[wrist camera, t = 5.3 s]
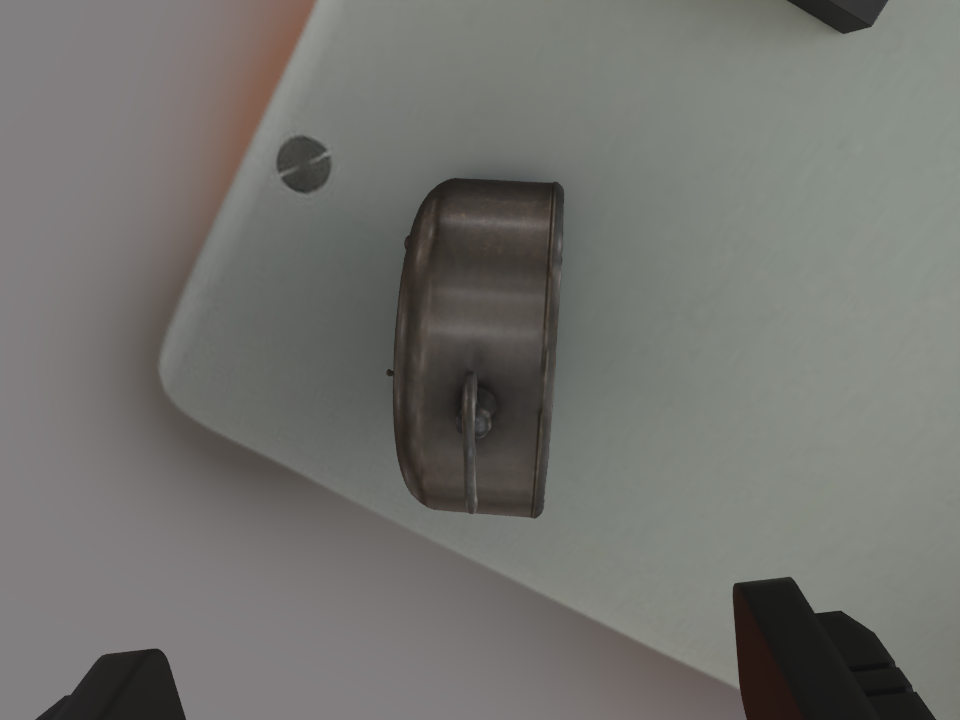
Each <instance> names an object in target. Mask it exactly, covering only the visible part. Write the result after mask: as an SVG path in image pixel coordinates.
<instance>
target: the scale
mask: <svg viewBox="0 0 960 720" xmlns="http://www.w3.org/2000/svg"><path fill="white" fill-rule="evenodd" d="M788 1H790V2H792V3H793V4H795V5H797V6H798V7H800V8H802V9H803V10H805V11H807V12H808V13H810V14H812V15H813V16H815V17H817V18H818V19H820V20H822V21H823V22H825V23H826V24H828V25H830V26H831V27H833V28H835V29H836V30H838V31H840V32H841V33H843V34H845V33H849V32H853V31H857V30H861V29H865V28H869V27H872V25H873V24H874V22H875V21H876V19H877V17H878V16H879V14H880V13H881V11H882V10H883V8H884V6H885V5H886V3H887V2H888V0H788Z"/></svg>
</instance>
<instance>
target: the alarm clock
mask: <svg viewBox="0 0 960 720" xmlns="http://www.w3.org/2000/svg"><path fill="white" fill-rule="evenodd" d="M563 204H564V190H563V187H562V186H561V185H560V184H559V183H558V182H553V183H539V182H520V181H501V180H480V179H460V178H454V179H449V180H446V181H444V182H442V183H440V184H439V185H437V186H436V187H435V188H434V189H433V190H432V191H430V193H429V194H428V195H427V197H426V198H425V199H424V201H423V202H422V204H421V206H420V208H419V210H418V213H417V215H416V217H415V220H414V223H413V226H412V229H411V233H410V235H409V236H407V237H406V239H405V248H406V254H405V258H404V264H403V270H402V275H401V282H400V290H399V299H398V309H397V319H396V329H395V344H394V372H393V371H391V370H390V369H389V370H387V372H386V374H387V375H388V376H393V414H394V432H395V441H396V450H397V456H398V462H399V466H400V470H401V473H402V476H403V478H404V481H405V484H406V486H407V488H408V489H409V491H410V493H411V494H412V495H413V496H414V497H415V498H416V499H417V500H418V501H419V502H420V503H422V504H423V505H425V506H426V507H428V508H431V509H434V510H443V511H454V512H467V513H470V514H474V513H480V514H493V515H506V516H520V517H531V518H537V517H538V516H539V515H540V514H541V513H542V511H543V509H544V494H545V483H546V475H547V468H548V458H549V443H550V430H551V418H552V407H553V390H554V376H555V362H556V340H557V326H558V310H559V295H560V280H561V265H562V260H563V259H562V256H561V255H562V237H563Z"/></svg>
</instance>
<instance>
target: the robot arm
mask: <svg viewBox="0 0 960 720" xmlns="http://www.w3.org/2000/svg"><path fill="white" fill-rule="evenodd" d="M733 606H734V619H735V632H736V645H737V658H738V671H739V683H740V690H741V696H742V701H743V705H744V710H745V714H746V718H747V720H936V719H935V717H934V716H933V715H932V713H931V712H930V710H929V709H928V708H927V706H926V705H925V703H924V702H923V701H922V699H921V698H920V696H919V695H918V694H917V692H913V689H912V685H911V684H910V682H909V681H908V679H907V678H906V677H905V675H904V674H903V672H902V671H901V670H900V668H899V667H897V668H896V665H895V661H894V660H893V658H892V657H891V656H890V654H889V653H888V651H887V650H886V649H885V647H884V646H883V644H882V643H881V642H880V640H879V639H878V637H877V636H876V635H875V633H874V632H872V631H871V630H869V629H868V628H866V627H865V626H863V625H862V624H860V623H859V622H857V621H856V620H854V619H853V618H851V617H850V616H848V615H847V614H845V613H844V612H842V611H833V612H824V613H814V611H813V610H812V608H811V606H810V605H809V603H808V602H807V600H806V598H805V597H804V595H803V594H802V592H801V590H800V589H799V587H798V586H797V584H796V582H795V581H794V580H793V579H792V578H791V577H785V578H776V579H767V580H759V581H750V582H741V583H735V584H734V586H733ZM36 720H186V718H185V715H184V712H183V708H182V705H181V702H180V698H179V695H178V692H177V688H176V685H175V682H174V679H173V675H172V672H171V669H170V665H169V662H168V660H167V658H166V656H165V654H164V653H163V652H162V651H161V650H159V649H147V650H139V651H130V652H122V653H113V654H105V655H103V656H101V657H100V658H99V659H98V660H97V661H96V662H95V664H94V665H93V666H92V668H91V669H90V670H89V672H88V673H87V674H86V675H85V677H84V678H83V679H82V681H81V682H80V684H79V685H78V686H77V687H76V689H75V690H74V691H73V693H72V694H71V695H68V696H64V697H63V698H62V699H61V700H59V701H58V702H57V703H56V704H54V705H53V706H52V707H51V708H49V709H48V710H47V711H46V712H44V713H43V714H42V715H41V716H39V717H38V718H37V719H36Z"/></svg>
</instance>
